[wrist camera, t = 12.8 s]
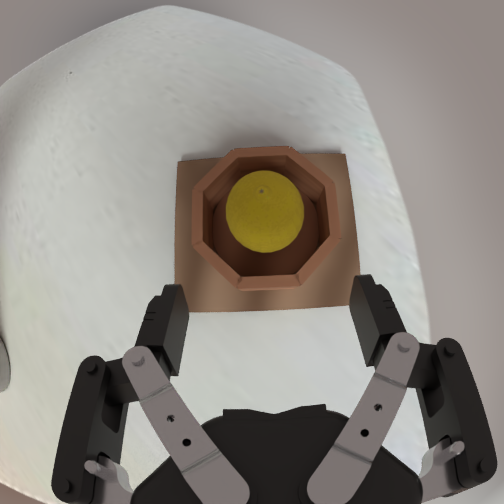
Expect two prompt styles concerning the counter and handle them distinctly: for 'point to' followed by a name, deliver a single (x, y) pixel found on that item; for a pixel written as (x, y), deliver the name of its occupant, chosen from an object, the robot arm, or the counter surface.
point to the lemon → (264, 211)
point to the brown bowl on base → (270, 263)
